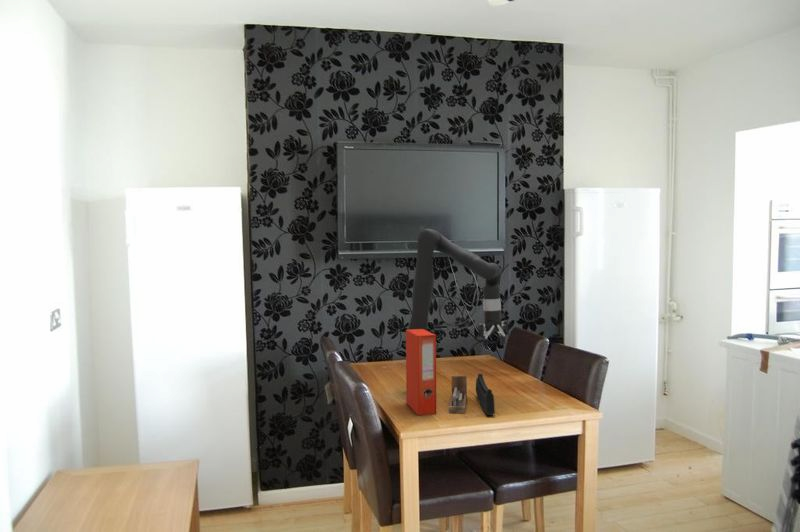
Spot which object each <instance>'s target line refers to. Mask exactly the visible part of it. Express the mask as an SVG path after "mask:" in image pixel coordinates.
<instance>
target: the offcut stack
mask: <svg viewBox="0 0 800 532" xmlns="http://www.w3.org/2000/svg"><path fill="white" fill-rule="evenodd" d="M463 400H464V399H463V398H462V393H460V390H457V388H455V389H454V393H453V406H461V407H463Z"/></svg>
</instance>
